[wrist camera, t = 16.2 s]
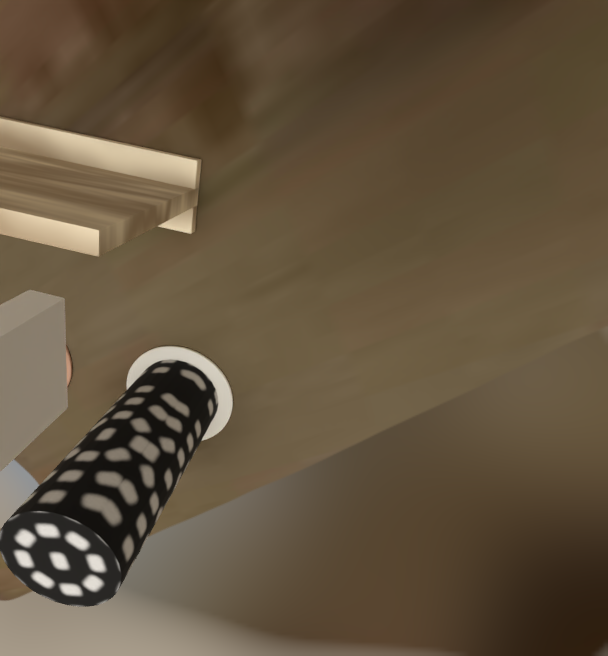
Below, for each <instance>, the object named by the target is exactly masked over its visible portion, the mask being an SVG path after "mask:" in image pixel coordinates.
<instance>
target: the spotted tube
mask: <svg viewBox="0 0 608 656" xmlns="http://www.w3.org/2000/svg"><path fill="white" fill-rule="evenodd" d="M217 409H218V396H217V392H216V389H215V387H214V385H213V383H212V382H211V380H210V379H209V378H208V377H207V376H206V375H205V374H204V373H203V372H202V371H201V370H200V369H198V368H197V367H195V366H193V365H191V364H189V363H187V362H183V361H179V360H162V361H159V362H156V363H154V364H152V365H150V366H149V367H148V368H147V369H146V370H145V371H144V372H143V373H142V374H141V375H140V376H139V377H138V378H137V380H136V381H135V382H134V383H133V384H132V385H131V386H130V387H129V388H128V389H127V390H126V392H125V393H124V394H123V395H122V396H121V397H120V398H119V399H118V400H117V401H116V402H115V404H114V405H113V406H112V407H111V408H110V409H109V410H108V411H107V412H106V413H105V414H104V416H103V417H102V418H101V419H100V420H99V421H98V422H97V423H96V424H95V425H94V426H93V428H92V429H91V430H90V431H89V432H88V433H87V434H86V435H85V436H84V437H83V439H82V440H81V441H80V442H79V443H78V444H77V445H76V446H75V447H74V448H73V449H72V451H71V452H70V453H69V454H68V455H67V456H66V457H65V458H64V459H63V460H62V461H61V463H60V464H59V465H58V466H57V467H56V468H55V469H54V470H53V471H52V472H51V473H50V475H49V476H48V477H47V478H46V479H45V480H44V481H43V482H42V483H41V484H40V485H39V487H38V488H37V489H36V490H35V491H34V492H33V493H32V494H31V495H30V496H29V497H28V499H27V500H26V501H25V502H24V503H23V504H22V505H21V506H20V507H19V508H18V510H17V511H16V512H15V513H14V514H13V515H12V516H11V517H10V518H9V519H8V520H7V522H6V523H5V524H4V526H3V527H2V529H1V531H0V551H1V554H2V557H3V559H4V561H5V563H6V564H7V566H8V568H9V569H10V570H11V571H12V573H13V574H14V575H15V576H16V577H17V578H18V579H19V580H20V581H21V582H22V583H23V584H25V585H26V586H27V587H29V588H30V589H31V590H33V591H34V592H36V593H38V594H40V595H42V596H43V597H45V598H48V599H50V600H53V601H55V602H59V603H62V604H66V605H71V606H94V605H99V604H101V603H104V602H106V601H108V600H109V599H111V598H112V597H113V596H114V595H115V594H116V592H117V591H118V590H119V588H120V586H121V584H122V582H123V581H124V579H125V577H126V575H127V573H128V572H129V570H130V568H131V566H132V564H133V563H134V561H135V559H136V557H137V555H138V554H139V552H140V550H141V548H142V546H143V545H144V543H145V541H146V539H147V537H148V536H149V534H150V532H151V530H152V528H153V527H154V525H155V523H156V521H157V519H158V518H159V516H160V514H161V512H162V510H163V509H164V507H165V505H166V503H167V501H168V500H169V498H170V496H171V494H172V492H173V491H174V489H175V487H176V485H177V483H178V482H179V480H180V478H181V476H182V474H183V473H184V471H185V469H186V467H187V465H188V464H189V462H190V460H191V458H192V456H193V455H194V453H195V451H196V449H197V447H198V446H199V444H200V442H201V440H202V438H203V437H204V435H205V433H206V431H207V429H208V428H209V426H210V424H211V422H212V420H213V419H214V417H215V415H216V412H217Z"/></svg>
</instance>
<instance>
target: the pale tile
mask: <svg viewBox="0 0 608 656" xmlns="http://www.w3.org/2000/svg"><path fill="white" fill-rule="evenodd" d="M162 360H179V361H183V362H187V363H189V364H191V365H193V366H195V367H197V368H198V369H200V370H201V371H202V372H203V373H204V374H205V375H206V376H207V377H208V378H209V379H210V380H211V382H212V383H213V385H214V387H215V389H216V392H217V396H218V409H217V412H216V415H215V417H214V419H213V420H212V422H211V424H210V426H209V428H208V429H207V431H206V433H205V435H204V437H203V438H202V440H206V439H208V438H211V437H213V436H214V435H216V434H217V433H219V432H220V431H221V430H222V429H223V428H224V426H225V425H226V424H227V422H228V420H229V418H230V416H231V413H232V409H233V395H232V390H231V387H230V384H229V382H228V380H227V378H226V376H225V375H224V373H223V372H222V371H221V369H220V368H219V367H218V366H217V365H216V364H215V363H214V362H213V361H212V360H210V359H209V358H207V357H206V356H204V355H203V354H201V353H199V352H197V351H195V350H192V349H189V348H186V347H181V346H172V345H169V346H160V347H156V348H153V349H150V350H149V351H147V352H145V353H144V354H142V355H141V356H140V357H139V358H138V359H137V360H136V361H135V362H134V364H133V365H132V366H131V368H130V371H129V373H128V377H127V389H128V388H129V387H130V386H131V385H132V384H133V383H134V382H135V381H136V380H137V378H138V377H139V376H140V375H141V374H142V373H143V372H144V371H145V370H146V369H147V368H148V367H149V366H150V365H152V364H154V363H156V362H159V361H162ZM202 440H201V441H202Z"/></svg>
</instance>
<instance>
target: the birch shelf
mask: <svg viewBox="0 0 608 656" xmlns="http://www.w3.org/2000/svg"><path fill="white" fill-rule="evenodd" d="M201 161H202V160H201V159H197V158H192V157H187V156H183V155H178V154H174V153H169V152H164V151H160V150H155V149H150V148H146V147H141V146H136V145H132V144H127V143H122V142H118V141H113V140H108V139H104V138H99V137H94V136H90V135H85V134H80V133H76V132H71V131H66V130H62V129H57V128H52V127H48V126H43V125H39V124H34V123H29V122H25V121H20V120H15V119H11V118H6V117H1V116H0V234H3V235H7V236H12V237H16V238H20V239H25V240H29V241H33V242H38V243H42V244H46V245H51V246H55V247H60V248H64V249H68V250H73V251H77V252H81V253H86V254H90V255H94V256H101V255H103V254H105V253H107V252H108V251H110V250H112V249H114V248H116V247H118V246H120V245H122V244H124V243H126V242H128V241H130V240H132V239H133V238H135V237H137V236H139V235H141V234H143V233H145V232H147V231H149V230H151V229H153V228H155V227H157V226H159V227H163V228H168V229H172V230H177V231H181V232H185V233H190V234H191V233H193V232H194V231H195V227H196V216H197V205H198V194H199V183H200V172H201Z"/></svg>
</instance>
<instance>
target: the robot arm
mask: <svg viewBox="0 0 608 656" xmlns="http://www.w3.org/2000/svg"><path fill="white" fill-rule="evenodd" d="M67 408H68V402H67V367H66V332H65V298H62V297H58V296H53V295H49V294H45V293H41V292H37V291H33V290H28V291H26V292H24V293H22V294H20V295H18V296H17V297H15V298H13V299H11V300H9V301H7V302H5V303H3V304H1V305H0V471H2V470H3V469H4V468H5V467H6V466H7V465H8V464H9V463H10V462H11V461H12V460H13V459H14V458H15V457H16V456H17V455H18V454H20V453H21V452H22V451H23V450H24V449H25V448H26V447H27V446H28V445H29V444H30V443H31V442H32V441H33V440H34V439H35V438H36V437H37V436H38V435H39V434H41V433H42V432H43V431H44V430H45V429H46V428H47V427H48V426H49V425H50V424H51V423H52V422H53V421H54V420H55V419H56V418H57V417H58V416H59V415H61V414H62V413H63V412H64V411H65V410H66V409H67Z"/></svg>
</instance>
